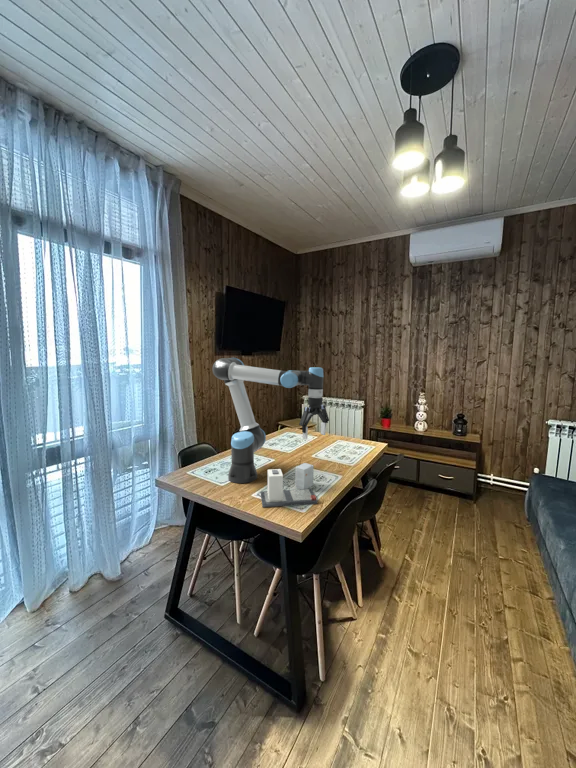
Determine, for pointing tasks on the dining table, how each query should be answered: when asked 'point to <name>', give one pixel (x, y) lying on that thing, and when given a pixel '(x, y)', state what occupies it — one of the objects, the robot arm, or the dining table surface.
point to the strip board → (290, 498)
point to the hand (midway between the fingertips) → (314, 436)
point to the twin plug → (275, 484)
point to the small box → (304, 476)
